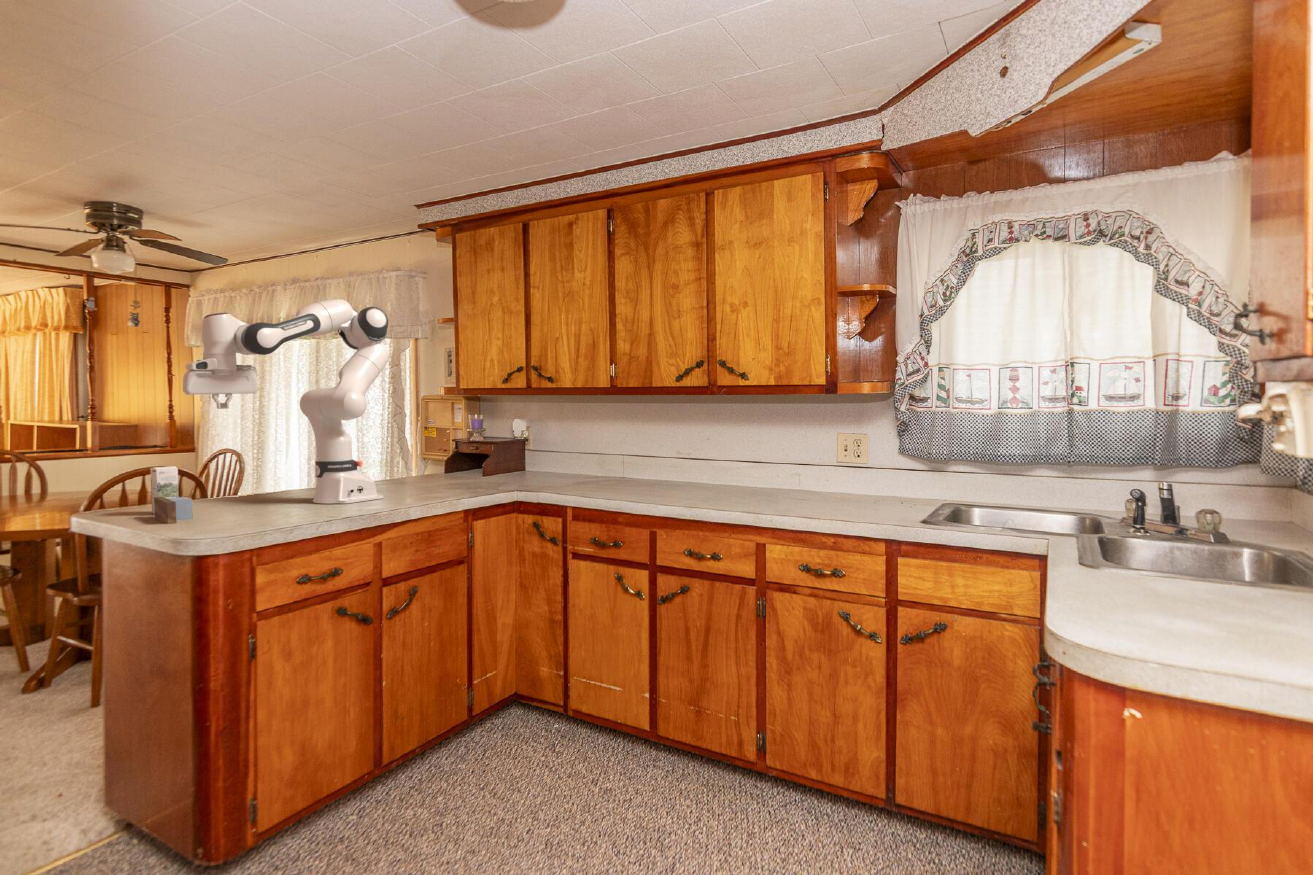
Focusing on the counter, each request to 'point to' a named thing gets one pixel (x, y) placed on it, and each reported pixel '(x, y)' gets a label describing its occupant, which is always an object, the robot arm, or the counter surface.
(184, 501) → the blue block
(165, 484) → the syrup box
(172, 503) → the walnut board
